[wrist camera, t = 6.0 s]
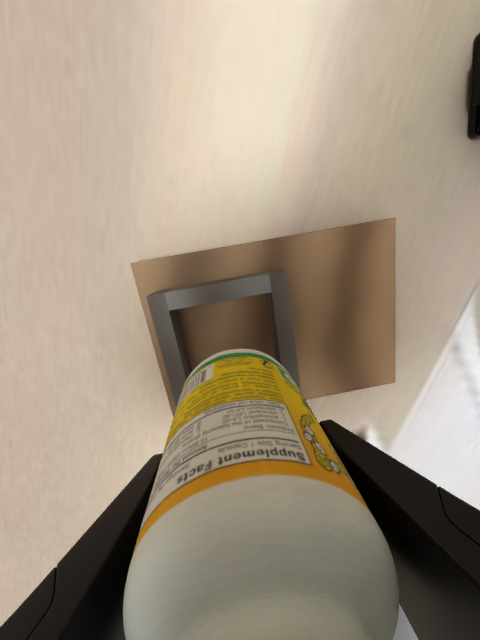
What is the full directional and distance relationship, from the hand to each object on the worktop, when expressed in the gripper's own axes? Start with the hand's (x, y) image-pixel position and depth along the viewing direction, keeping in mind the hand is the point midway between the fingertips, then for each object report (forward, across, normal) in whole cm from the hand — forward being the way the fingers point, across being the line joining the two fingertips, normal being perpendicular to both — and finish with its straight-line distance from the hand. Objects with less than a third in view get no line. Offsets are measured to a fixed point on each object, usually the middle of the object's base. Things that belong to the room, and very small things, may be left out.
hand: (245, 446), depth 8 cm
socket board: (+13, -4, 0) cm, 13 cm away
